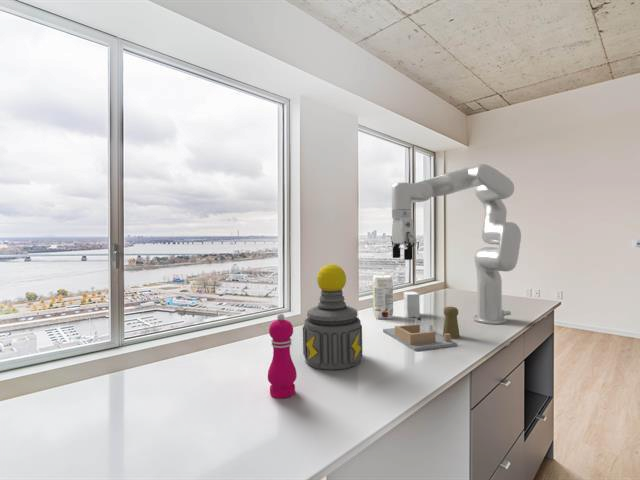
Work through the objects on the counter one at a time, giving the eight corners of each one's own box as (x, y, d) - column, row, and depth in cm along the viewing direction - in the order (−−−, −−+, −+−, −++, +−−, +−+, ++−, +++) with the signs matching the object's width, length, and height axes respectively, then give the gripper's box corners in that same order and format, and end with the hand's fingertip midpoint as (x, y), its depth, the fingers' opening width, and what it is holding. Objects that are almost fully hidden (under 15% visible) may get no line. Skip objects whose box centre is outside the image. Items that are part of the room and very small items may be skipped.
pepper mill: (285, 402, 86) (283, 318, 86) (262, 395, 90) (260, 315, 90) (302, 390, 93) (301, 312, 92) (280, 384, 96) (278, 309, 96)
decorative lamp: (336, 377, 101) (334, 268, 100) (290, 361, 113) (288, 265, 112) (375, 358, 114) (373, 263, 114) (330, 346, 127) (328, 260, 126)
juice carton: (394, 319, 163) (393, 276, 162) (374, 319, 163) (374, 277, 162) (391, 315, 170) (390, 274, 170) (372, 315, 170) (371, 275, 170)
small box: (419, 317, 165) (419, 294, 165) (407, 317, 165) (407, 294, 165) (415, 313, 173) (415, 291, 173) (403, 313, 173) (403, 291, 173)
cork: (460, 335, 137) (460, 306, 137) (459, 339, 132) (458, 309, 131) (443, 333, 140) (443, 304, 139) (441, 337, 134) (441, 308, 134)
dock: (419, 327, 148) (419, 316, 148) (456, 345, 125) (456, 332, 125) (383, 331, 144) (382, 320, 143) (414, 351, 120) (414, 337, 120)
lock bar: (418, 326, 147) (418, 315, 146) (433, 332, 137) (432, 321, 137) (415, 326, 146) (415, 316, 146) (429, 333, 137) (429, 322, 136)
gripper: (422, 213, 134) (422, 260, 135) (400, 215, 151) (400, 256, 152) (403, 213, 133) (404, 260, 133) (383, 215, 149) (384, 257, 150)
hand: (402, 258), depth 142 cm, fingers open, 9 cm apart
